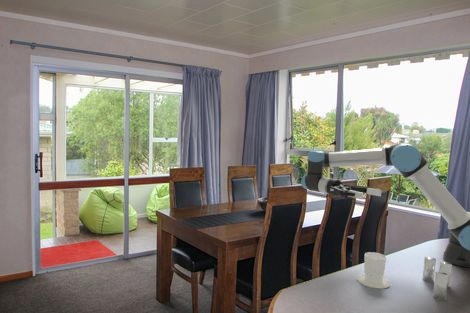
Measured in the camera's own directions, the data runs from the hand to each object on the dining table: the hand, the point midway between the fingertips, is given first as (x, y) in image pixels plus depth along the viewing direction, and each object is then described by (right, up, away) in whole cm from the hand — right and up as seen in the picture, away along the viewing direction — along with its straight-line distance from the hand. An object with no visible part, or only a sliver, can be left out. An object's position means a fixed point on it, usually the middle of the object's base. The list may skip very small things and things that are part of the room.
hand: (372, 194), depth 159 cm
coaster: (-3, -33, -11) cm, 35 cm away
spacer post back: (+24, -34, -11) cm, 43 cm away
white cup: (-3, -33, -11) cm, 35 cm away
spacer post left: (+20, -34, -7) cm, 40 cm away
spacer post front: (+16, -35, -22) cm, 45 cm away
